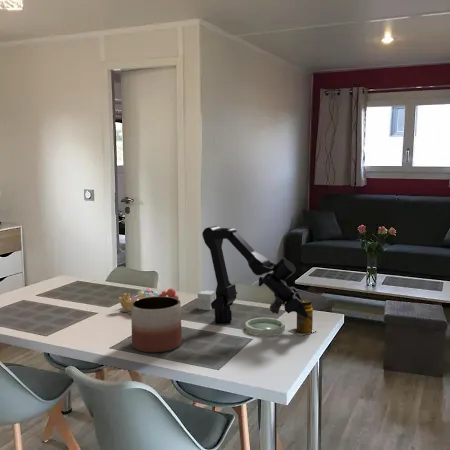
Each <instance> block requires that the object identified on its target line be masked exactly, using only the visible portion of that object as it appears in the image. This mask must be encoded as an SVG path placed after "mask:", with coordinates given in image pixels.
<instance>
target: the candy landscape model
mask: <svg viewBox="0 0 450 450" xmlns="http://www.w3.org/2000/svg"><path fill="white" fill-rule="evenodd" d="M154 296H166V297H173V298H176V299H178V300H180V299H179V296H178V295H177V293H176V290H175V289H174V288H168V289H167V290H162V292H161V293H158V291H153V290H152V289H151V288H149V287H148V288H142V290H138V291H137V295H136V296H135V293H133V295H131V294H130V293H129V292H125V293H123V296H118V300H119V304H120V306H121V307H122V308H121V309H120V312H121V313H123V312H124V313H128V315H130V316H131V303H132V302H133V301H135V300H138V299H141V298H146V297H154Z"/></svg>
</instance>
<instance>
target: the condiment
mask: <svg viewBox="0 0 450 450" xmlns="http://www.w3.org/2000/svg"><path fill="white" fill-rule="evenodd" d="M301 302H302V304H303V306H304V308H305V310H306V313H307V315H308V317H307V318H305V317H303V316H302V315H300V314H298V313H296V328H292V329H288V331H289V332H291V333H292V334H295V335H297V336H300V337H302V336H305V335H309V334H311V335H312V334H314V333H313V332H312V330H313V331H316V332H315V333H317V332H318V331H317V330H314V329H313V315H314V314H313V312H314V309H313V307H312V304H313V302H312V300H310V299H304V298H303V299H302V298H301ZM311 332H312V333H311Z"/></svg>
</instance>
